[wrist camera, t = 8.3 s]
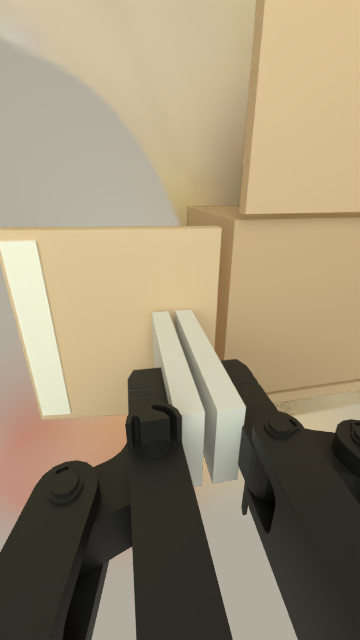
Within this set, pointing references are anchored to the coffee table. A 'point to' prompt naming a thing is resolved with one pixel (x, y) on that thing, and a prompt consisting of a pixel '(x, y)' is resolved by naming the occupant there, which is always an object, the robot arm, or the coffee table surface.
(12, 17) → the coffee table surface
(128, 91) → the coffee table surface
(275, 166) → the carton
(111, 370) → the panel
